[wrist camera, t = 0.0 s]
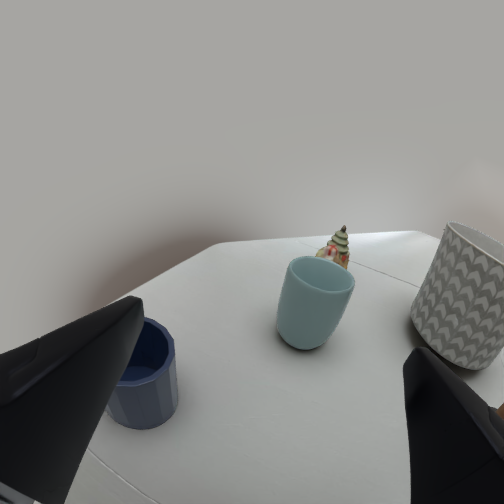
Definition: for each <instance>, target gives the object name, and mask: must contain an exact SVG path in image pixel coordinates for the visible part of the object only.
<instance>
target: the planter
mask: <svg viewBox="0 0 504 504" xmlns="http://www.w3.org/2000/svg"><path fill="white" fill-rule="evenodd" d="M411 317H412V321H413V323H414V325H415V327H416V329H417V331H418V332H419V334H420V335H421V336H422V338H423V339H424V340H425V341H426V342H427V343H428V344H429V345H430V346H431V347H432V348H433V349H434V350H435V351H436V352H437V353H438V354H440V355H441V356H442V357H444V358H445V359H447V360H448V361H450V362H452V363H454V364H456V365H458V366H461V367H463V368H467V369H472V370H480V369H484V368H486V367H488V366H489V365H490V364H491V363H492V362H493V360H494V359H495V358H496V356H497V355H498V354H499V352H500V351H501V349H502V348H503V347H504V245H503V244H501V243H500V242H498V241H496V240H495V239H493V238H491V237H490V236H488V235H486V234H484V233H482V232H480V231H478V230H476V229H474V228H471V227H469V226H467V225H464V224H461V223H458V222H454V221H449V222H448V223H447V225H446V228H445V231H444V234H443V237H442V239H441V242H440V244H439V247H438V249H437V252H436V254H435V257H434V259H433V262H432V264H431V266H430V268H429V271H428V273H427V275H426V277H425V280H424V282H423V284H422V286H421V288H420V290H419V292H418V294H417V296H416V298H415V300H414V302H413V304H412V307H411Z"/></svg>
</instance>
